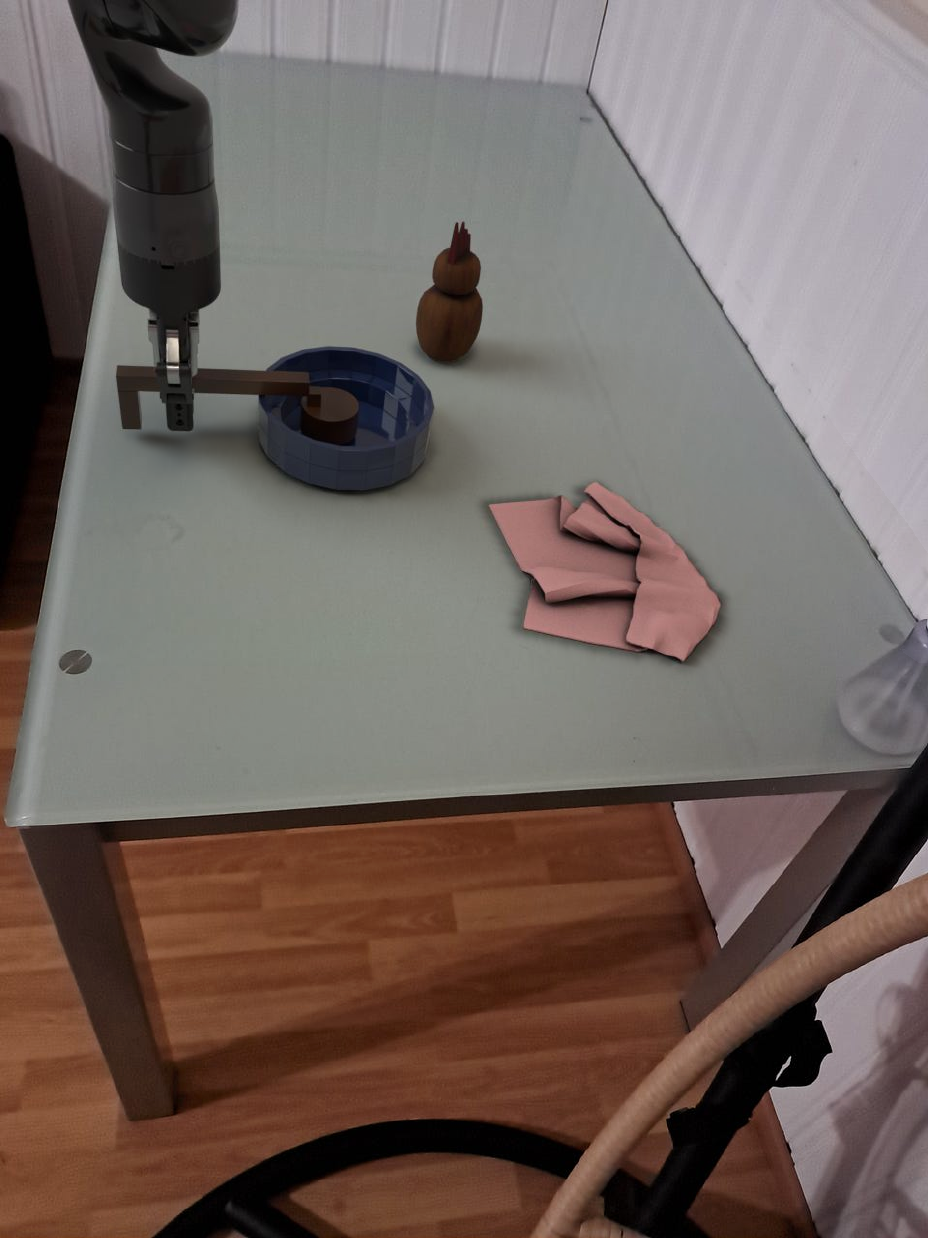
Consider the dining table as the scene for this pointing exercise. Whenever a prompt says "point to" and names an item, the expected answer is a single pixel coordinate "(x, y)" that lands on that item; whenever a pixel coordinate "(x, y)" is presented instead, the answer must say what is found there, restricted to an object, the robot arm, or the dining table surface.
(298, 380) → the ladle
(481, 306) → the wooden figurine
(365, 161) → the dining table surface
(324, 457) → the bowl
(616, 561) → the cloth
